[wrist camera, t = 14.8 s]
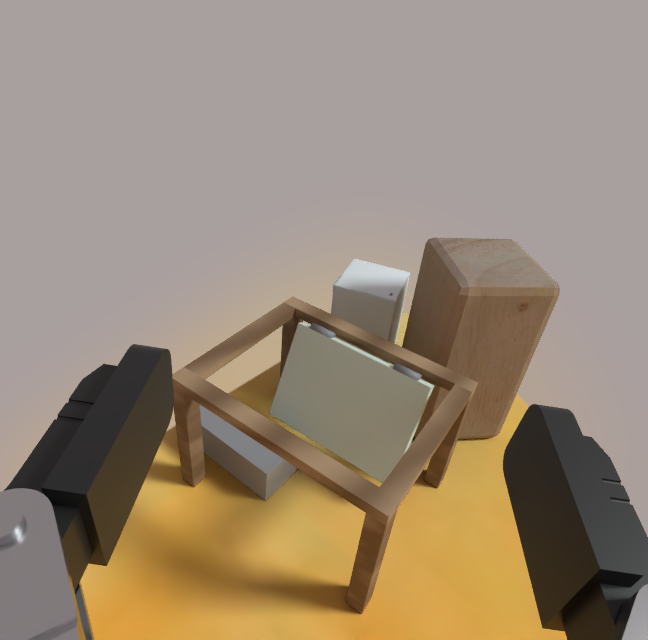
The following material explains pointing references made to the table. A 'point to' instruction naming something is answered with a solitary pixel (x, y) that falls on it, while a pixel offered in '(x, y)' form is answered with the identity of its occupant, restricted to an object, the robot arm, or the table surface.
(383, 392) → the flap
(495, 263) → the wooden block
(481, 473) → the table surface
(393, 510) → the stand
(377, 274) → the supplement box
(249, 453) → the basalt block
